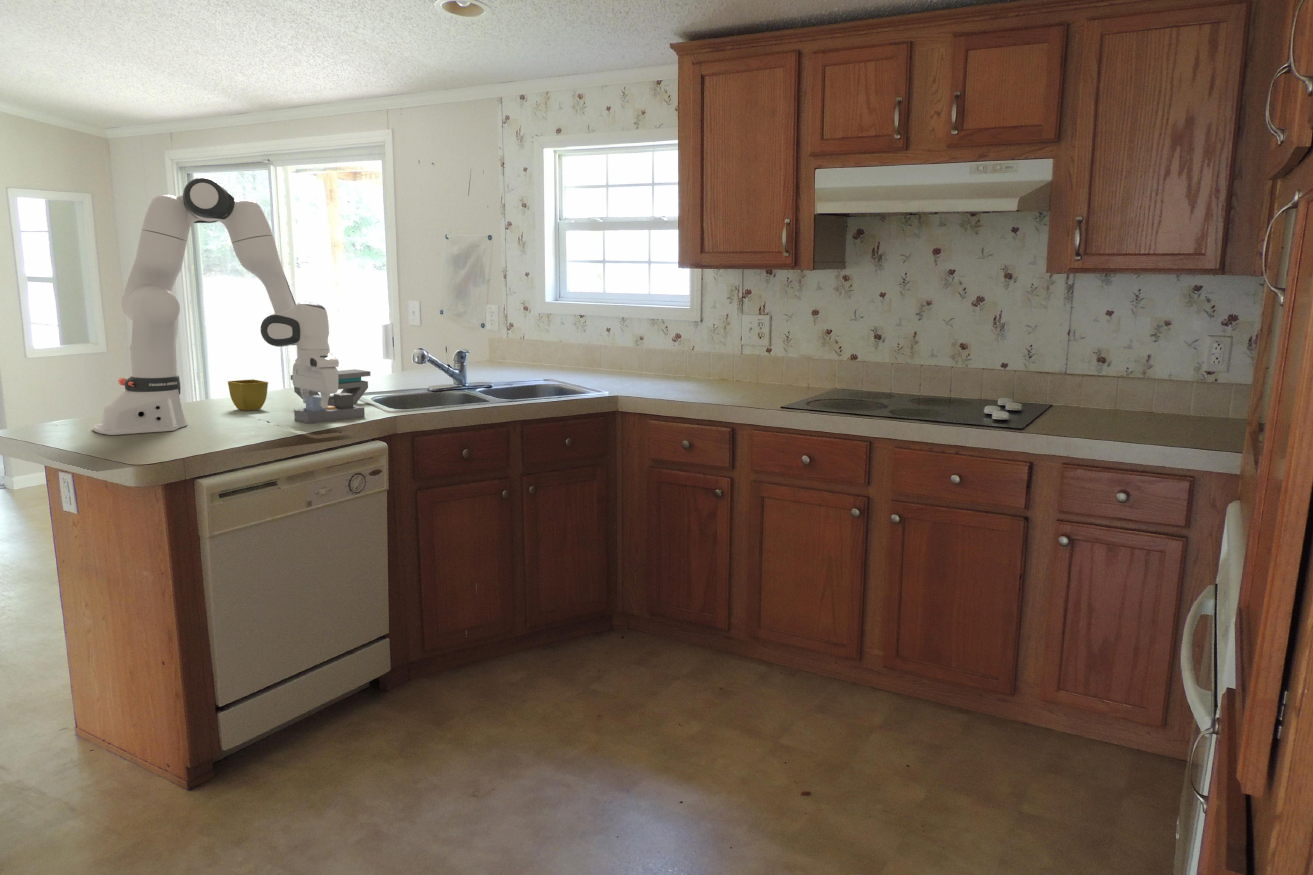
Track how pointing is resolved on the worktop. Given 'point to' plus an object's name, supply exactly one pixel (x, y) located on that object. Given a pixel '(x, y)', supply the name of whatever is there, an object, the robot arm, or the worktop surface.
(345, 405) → the twin plug
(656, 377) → the worktop surface
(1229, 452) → the worktop surface
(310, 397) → the plug
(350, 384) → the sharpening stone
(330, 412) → the strip
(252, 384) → the flower pot
